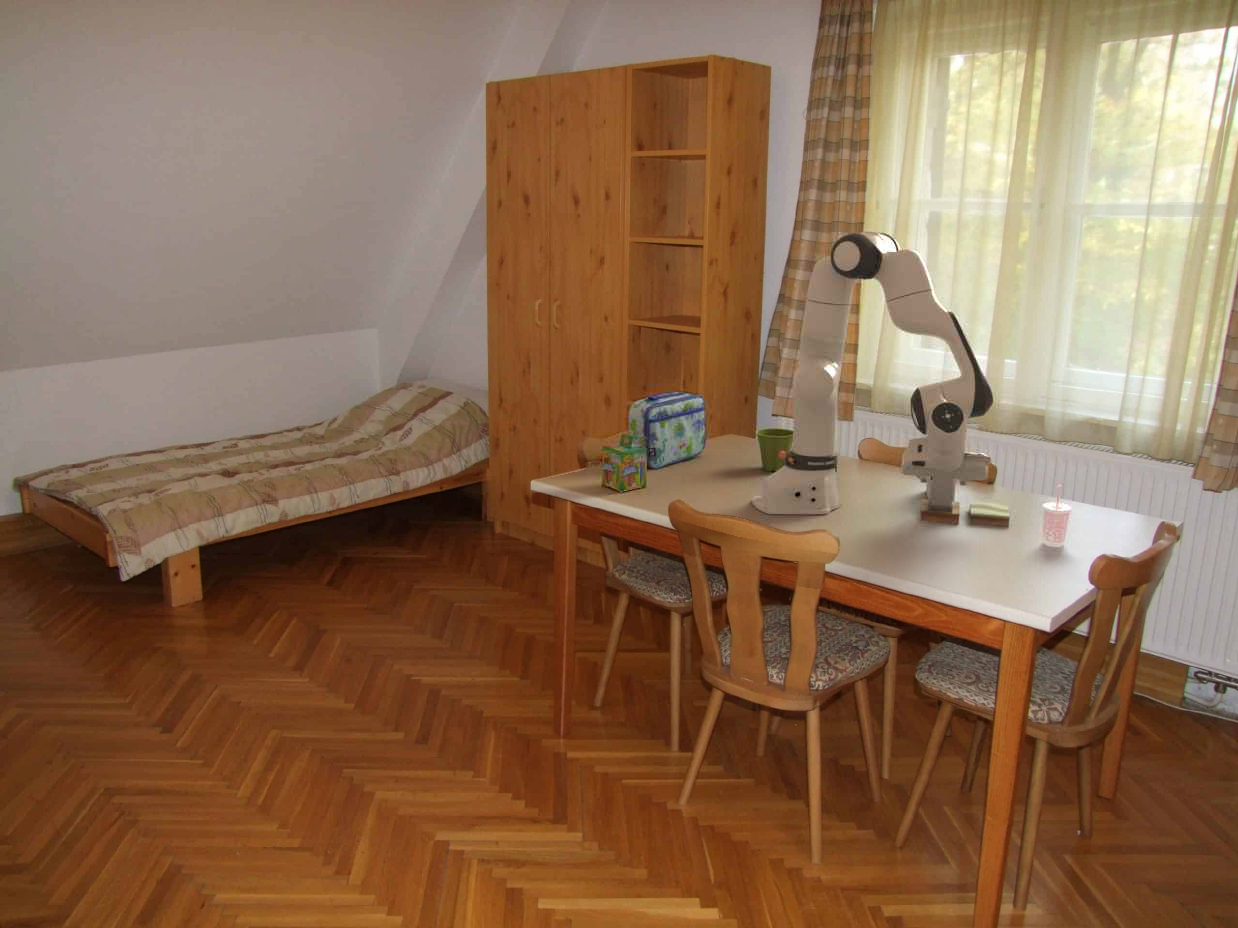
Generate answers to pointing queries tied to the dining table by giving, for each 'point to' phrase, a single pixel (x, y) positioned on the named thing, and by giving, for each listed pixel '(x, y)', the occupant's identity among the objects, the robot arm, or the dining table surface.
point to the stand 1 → (940, 514)
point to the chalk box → (624, 465)
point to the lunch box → (669, 427)
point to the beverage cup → (1055, 522)
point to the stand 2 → (989, 513)
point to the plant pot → (774, 446)
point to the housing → (941, 494)
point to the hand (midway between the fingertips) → (943, 481)
